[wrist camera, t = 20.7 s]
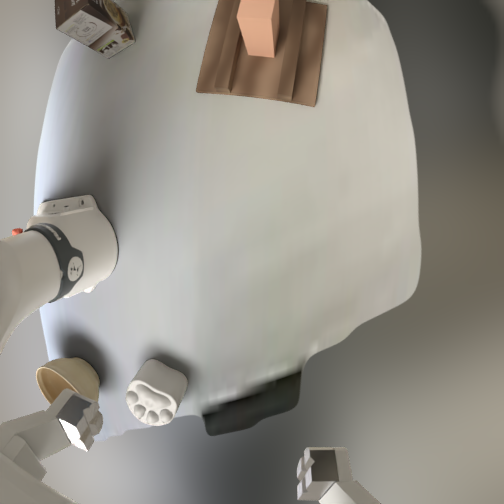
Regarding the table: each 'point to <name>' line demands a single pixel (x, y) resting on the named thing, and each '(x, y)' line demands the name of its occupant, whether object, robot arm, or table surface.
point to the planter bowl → (68, 378)
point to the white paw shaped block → (156, 393)
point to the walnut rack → (266, 68)
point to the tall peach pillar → (259, 26)
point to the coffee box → (95, 24)
